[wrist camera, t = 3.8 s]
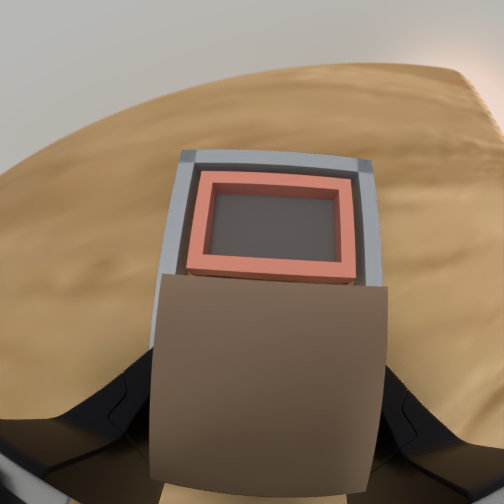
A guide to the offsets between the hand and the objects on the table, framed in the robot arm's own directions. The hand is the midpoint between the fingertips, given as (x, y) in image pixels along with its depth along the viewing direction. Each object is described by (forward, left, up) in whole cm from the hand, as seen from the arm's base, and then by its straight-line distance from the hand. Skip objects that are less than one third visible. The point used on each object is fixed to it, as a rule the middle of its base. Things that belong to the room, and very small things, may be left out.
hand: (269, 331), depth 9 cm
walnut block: (-1, +1, -7) cm, 7 cm away
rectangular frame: (+4, -5, -7) cm, 9 cm away
